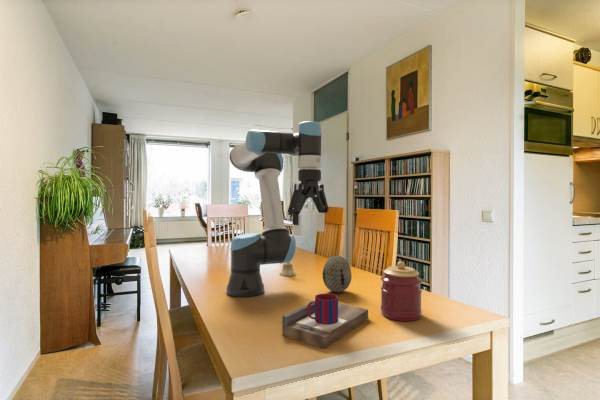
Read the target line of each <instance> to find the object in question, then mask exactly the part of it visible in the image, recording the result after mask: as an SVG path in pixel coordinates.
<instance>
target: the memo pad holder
mask: <svg viewBox="0 0 600 400" xmlns="http://www.w3.org/2000/svg"><path fill="white" fill-rule="evenodd" d="M308 304H309V303H307V304H306V305H305V304H304V305H303V306H301V307H298V308H297V309H294V310H292V311H290V312H288V313H285V314H283V315H282V317H281V318H282V319H281V320H282V321H281V322H282V324H281V325H282V327H281V331H282V337H283V336H284V337H287V338H290V339H293V340H296V341H298V342H303V343H306V344H309V345H311V346H315V347H318V348H322V349H327V348H328V347H329V346H331V345H333V344H334V343H335V342H337V341H338V340H340V339H341V338H342V337H344V336H345V335H347V334H349V333H350V332H351V331H352V330H354V329H356V328H357V327H358V326H360V325H361V324H363V323H364V322H366V321H367V320H369V309H367V308H363V307H359V306H353V305H349V304H345V303H340V302H338V322H337V323H334V324H320V323H317V322H316V321H315V319H312V318H310V317H309V316H308V314H307V306H308ZM310 315H311V316H312V317H315V303H312V304H311V306H310Z"/></svg>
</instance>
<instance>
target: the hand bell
mask: <svg viewBox="0 0 600 400" xmlns="http://www.w3.org/2000/svg"><path fill="white" fill-rule="evenodd" d="M296 275H297V272H296V271H295V270H294V268H293V263H292V262H291V261H290V262H286V263H282V268H281V270H280V272H279V276H282V277H293V276H296Z"/></svg>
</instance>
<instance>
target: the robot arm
mask: <svg viewBox="0 0 600 400" xmlns="http://www.w3.org/2000/svg"><path fill="white" fill-rule="evenodd" d="M321 125H322V124H321V123H319V122H317V121H312V120H308V121H307V120H306V121H302V122H301V121H300V122H299V123H298V129H297V132H286V131H285V132H284V131H283V132H282V131H272V130H261V129H250V130H248V131H247V133H246V136H245V142H243V143H242V144H238V145H236V146H235V147H233V148H232V149H231V150H230V152H229V161H230V163H231V165H232V166H233V167H234V168H235V169H237V170H239V171H242V172H246V173H254V176H255V178H256V179H257V180H258V182H259V191H260V193H259V194H260V200H261V208H262V215H263V225H264V230H263V231H262V233H261V234H260V233H259V232H250V233H249V232H248V233H244V234H243V233H242V234H238V235H236V236H233V237H232V239H231V241H230V276H229V278H228V279H229V280H228V283H227V285H226V294H227V295H229V296H232V297H236V298H237V297H238V298H245V297H246V298H247V297H248V298H249V297H255V296H259V295H261V294H263V293H264V292H265V285H264V283H263V279H262V275H261V265H275V264H281V265H283V264H284V263H286V262H290V263H291V261H292V260H293V258H294V257H295V254H296V250H297V249H296V247H297V243H296V238H295V236H300V237H301V236H302V214H301V211H302V209H303V207H304V205H305V203H306V202H307V199H309V198H311V199H312V201H313V203H314V205H315V207H316V209H317V211H318V212H316V232H319V233H324V232H325V219H326V218H325V217H326V216H325V215H326V213H328V211H329V205H328V201H327V197H326V193H325V187H324V184H323V183H319V182H321V180H322V171H321V168H322V126H321ZM283 155H289V156H292V157H294V156H298V157H297V158H298V160H297V161H298V162H297V163H298V165H297V168H298V169H299V170H298V173H297V174H298V177H297V178H298V181H299V182H297V183H296V182H295V183H294V186H293V192H292V196H291V198H290V202H289V205H288V208H287V212H288V213H289V215H292V234H290V230H289V229H288V228H287V227H286V226H285V219H284V214H283V207H282V198H281V192H280V191H281V190H280V185H279V177H280V175H281V172H283V170H284V156H283Z"/></svg>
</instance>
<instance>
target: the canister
mask: <svg viewBox="0 0 600 400" xmlns="http://www.w3.org/2000/svg"><path fill="white" fill-rule="evenodd" d="M419 275H420V272H419V271H417V270H416V269H415V268H414V267H410V266H406V263H405V262H404V261H402V260H401V261H397V264H396V265H389V266H388V267H387V268H386V269H383V275H382V276H381V277H380V280H381V281H382V283H381V286H380V294H381V295H380V300H381V301H380V311H381V314H382V316H383V317H385V318H387V319H390V320H393V321H398V322H399V321H400V322H412V321H417V320H419V319H420V318H421V316H422V313H423V312H422V311H423V309H422V292H423V290H422V289H421V284H422V282H423V280H422V279H421V278H420V277H419Z"/></svg>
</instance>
